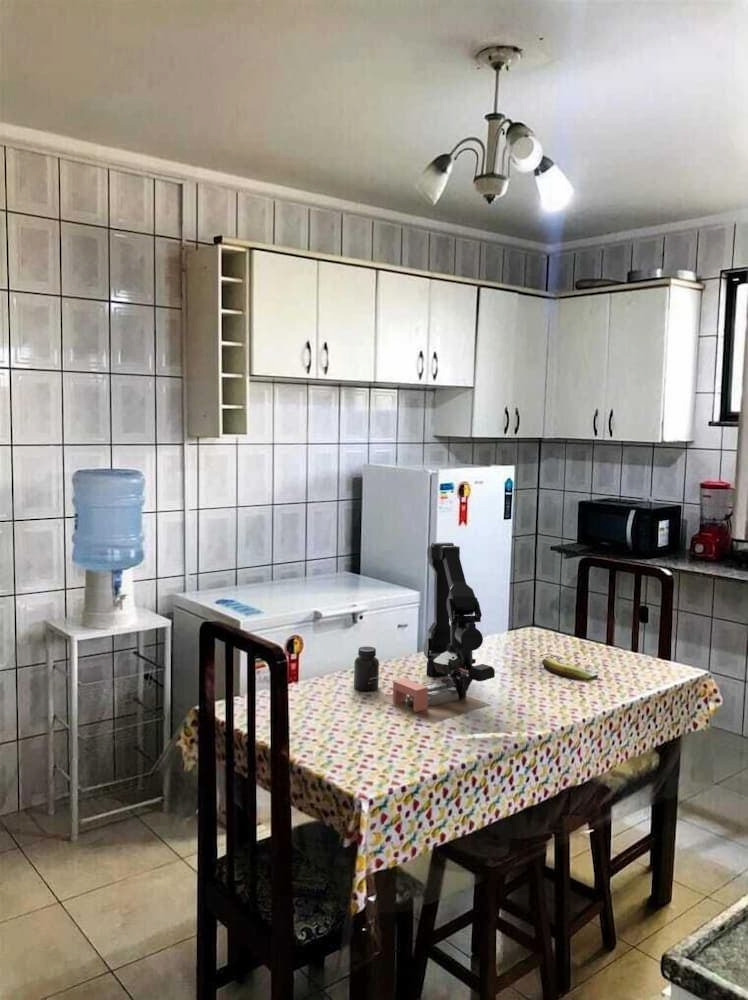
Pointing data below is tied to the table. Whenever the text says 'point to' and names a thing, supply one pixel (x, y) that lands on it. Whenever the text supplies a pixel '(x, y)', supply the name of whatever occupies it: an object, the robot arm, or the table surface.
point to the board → (439, 707)
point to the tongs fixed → (433, 689)
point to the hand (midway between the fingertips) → (461, 698)
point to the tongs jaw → (443, 696)
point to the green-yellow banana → (566, 670)
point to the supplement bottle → (366, 670)
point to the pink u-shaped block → (411, 693)
